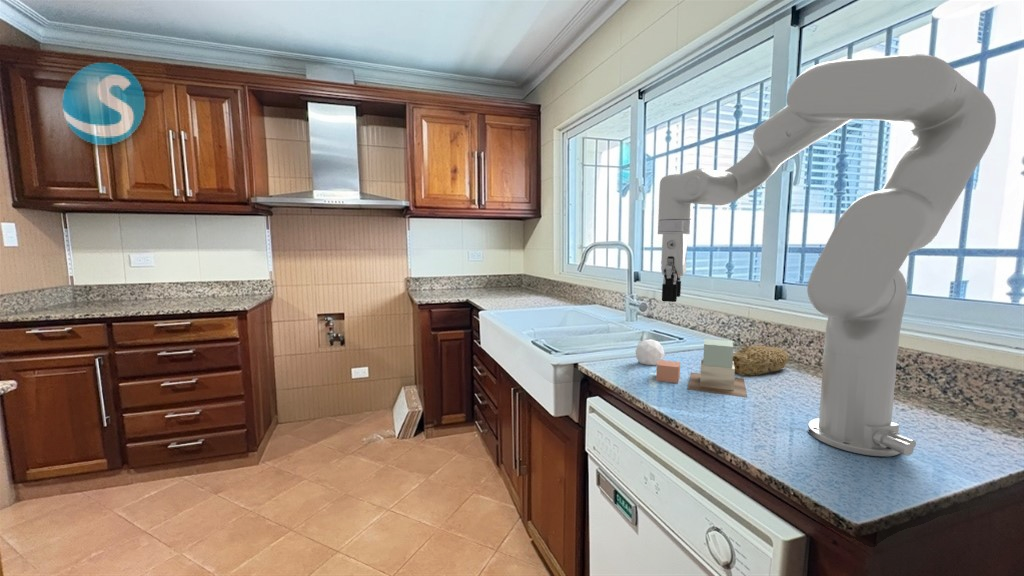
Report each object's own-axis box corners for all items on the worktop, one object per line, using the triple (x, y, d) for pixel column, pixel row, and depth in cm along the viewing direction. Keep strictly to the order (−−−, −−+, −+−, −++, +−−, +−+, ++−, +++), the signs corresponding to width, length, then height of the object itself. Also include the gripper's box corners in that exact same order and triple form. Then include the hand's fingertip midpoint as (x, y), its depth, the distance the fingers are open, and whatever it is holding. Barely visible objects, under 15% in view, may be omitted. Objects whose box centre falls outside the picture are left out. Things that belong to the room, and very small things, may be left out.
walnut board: (747, 401, 88) (747, 397, 88) (687, 393, 94) (687, 389, 94) (743, 382, 101) (743, 378, 101) (690, 376, 106) (690, 372, 106)
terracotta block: (678, 387, 98) (678, 367, 98) (656, 384, 100) (656, 364, 100) (679, 381, 103) (680, 362, 102) (658, 378, 105) (659, 359, 104)
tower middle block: (732, 368, 93) (733, 346, 92) (703, 365, 95) (704, 344, 95) (731, 361, 98) (732, 341, 98) (703, 358, 101) (704, 338, 100)
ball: (651, 377, 114) (649, 359, 109) (631, 361, 120) (628, 343, 115) (671, 362, 116) (669, 344, 111) (650, 347, 122) (647, 329, 117)
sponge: (751, 387, 101) (812, 364, 106) (742, 357, 101) (804, 334, 106) (713, 380, 114) (769, 360, 119) (705, 353, 114) (762, 333, 119)
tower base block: (733, 390, 93) (734, 369, 92) (700, 386, 96) (700, 365, 95) (732, 381, 99) (733, 361, 98) (701, 377, 102) (701, 358, 101)
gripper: (688, 226, 88) (685, 304, 90) (693, 228, 103) (690, 295, 105) (652, 227, 92) (649, 302, 93) (662, 229, 107) (659, 293, 109)
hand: (671, 298), depth 99 cm, fingers open, 9 cm apart
